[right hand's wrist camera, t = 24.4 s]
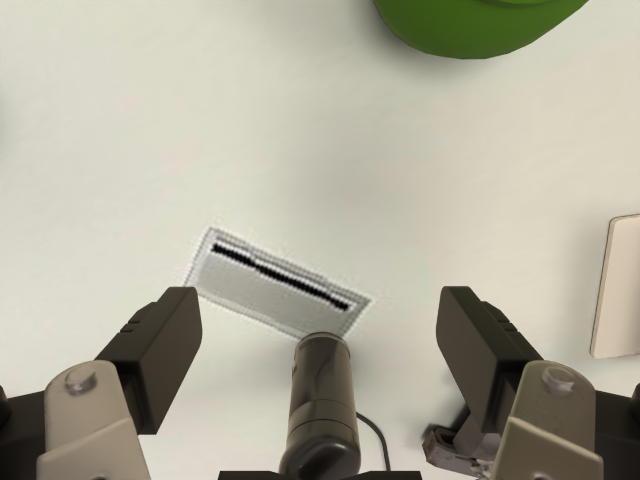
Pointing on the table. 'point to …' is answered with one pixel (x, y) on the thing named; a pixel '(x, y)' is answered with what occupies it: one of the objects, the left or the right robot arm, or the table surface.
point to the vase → (473, 24)
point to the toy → (463, 450)
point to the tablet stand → (619, 292)
